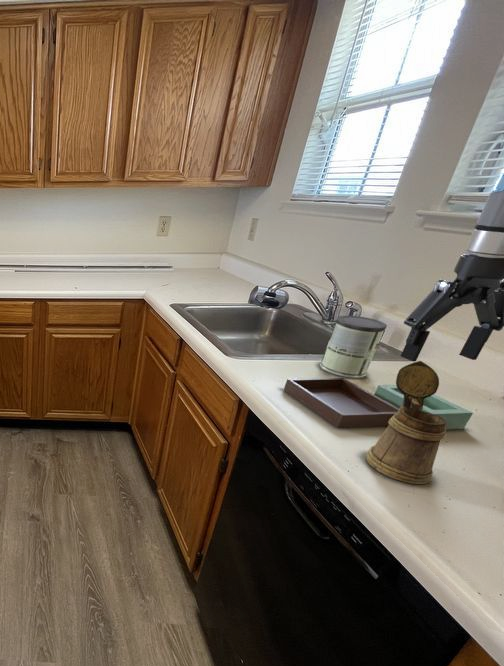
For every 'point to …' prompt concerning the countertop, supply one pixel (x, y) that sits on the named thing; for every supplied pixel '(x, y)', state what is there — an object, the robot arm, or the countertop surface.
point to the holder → (341, 402)
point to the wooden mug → (410, 430)
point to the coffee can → (352, 346)
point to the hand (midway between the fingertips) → (437, 358)
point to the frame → (429, 406)
